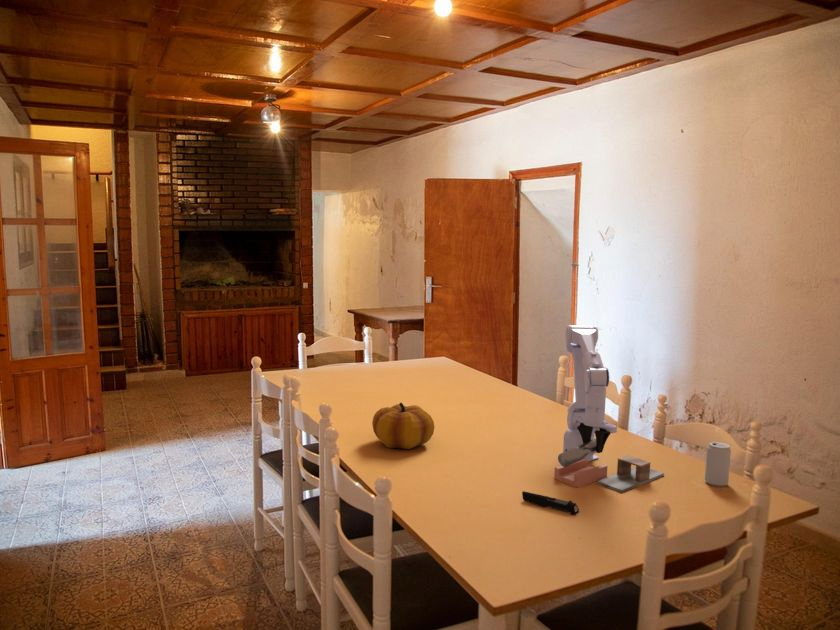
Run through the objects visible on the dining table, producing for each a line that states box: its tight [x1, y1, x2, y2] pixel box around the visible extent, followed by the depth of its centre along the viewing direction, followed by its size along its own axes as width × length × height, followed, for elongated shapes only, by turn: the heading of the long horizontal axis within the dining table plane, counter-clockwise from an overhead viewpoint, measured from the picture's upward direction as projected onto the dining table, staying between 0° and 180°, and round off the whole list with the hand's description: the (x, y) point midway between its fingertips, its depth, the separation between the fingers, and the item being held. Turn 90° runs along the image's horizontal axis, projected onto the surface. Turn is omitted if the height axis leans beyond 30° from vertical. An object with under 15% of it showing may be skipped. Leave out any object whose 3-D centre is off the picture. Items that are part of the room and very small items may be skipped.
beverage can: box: [704, 441, 732, 487], centre depth 191 cm, size 6×6×12 cm
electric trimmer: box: [521, 491, 580, 516], centre depth 173 cm, size 4×16×3 cm, turn 58°
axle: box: [557, 438, 598, 467], centre depth 193 cm, size 16×4×4 cm, turn 129°
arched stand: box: [596, 454, 665, 494], centre depth 193 cm, size 8×22×6 cm, turn 129°
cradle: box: [553, 458, 608, 488], centre depth 194 cm, size 9×14×4 cm, turn 129°
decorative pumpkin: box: [371, 402, 435, 450], centre depth 223 cm, size 20×22×15 cm
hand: (593, 450), depth 197 cm, fingers closed on axle, 4 cm apart
